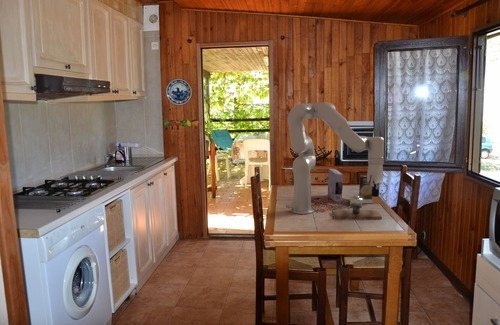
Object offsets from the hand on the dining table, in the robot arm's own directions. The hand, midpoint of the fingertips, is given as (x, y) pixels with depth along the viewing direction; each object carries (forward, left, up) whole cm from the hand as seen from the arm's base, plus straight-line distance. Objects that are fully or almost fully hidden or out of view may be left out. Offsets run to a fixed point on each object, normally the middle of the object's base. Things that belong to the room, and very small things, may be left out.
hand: (375, 196), depth 210 cm
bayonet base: (-9, +6, -12) cm, 16 cm away
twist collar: (-4, +6, -6) cm, 9 cm away
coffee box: (+3, +37, -13) cm, 39 cm away
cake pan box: (-15, +45, -13) cm, 49 cm away
